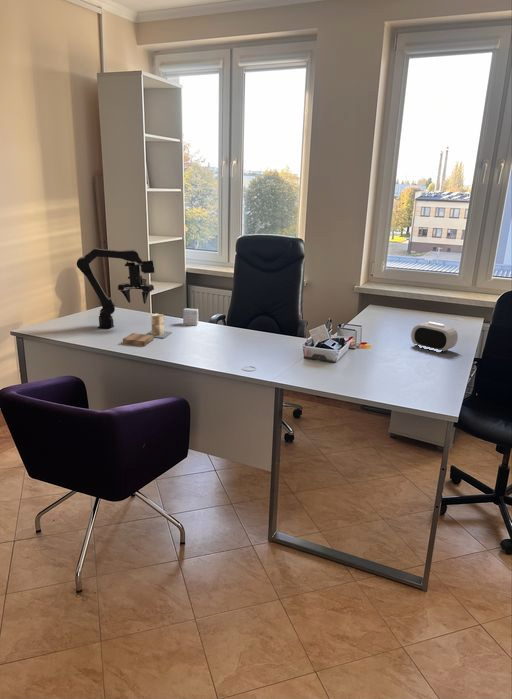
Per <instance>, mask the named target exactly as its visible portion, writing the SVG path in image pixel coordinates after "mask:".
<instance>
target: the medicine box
mask: <svg viewBox="0 0 512 699" xmlns="http://www.w3.org/2000/svg"><path fill="white" fill-rule="evenodd" d="M182 325H183V326H196V327H197V326H198V325H199V309H198V308H188V307H187V308H186V307H185V308H184V309H183V310H182Z"/></svg>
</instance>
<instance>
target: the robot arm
mask: <svg viewBox="0 0 512 699" xmlns="http://www.w3.org/2000/svg"><path fill="white" fill-rule="evenodd" d="M97 257H98V258H99V257H100V258H110V259H111V258H112V259H119V260H120V259H122V260H124V261H126V262H125V263H124V267H128V268H127V269H128V276H127V280H129V282H128V283H127V282H123V283H119V284H118V285H117V290H118V291H120V292H121V293H122V294H123V295H124V297H125V299H126V301H127V302H128V304H130V303H131V295H130V293H131V290H142V292H141V295H142V302H143V304H144V305H146V303H147V301H148V300H147V299H148V296H149V294H150V293H151V292H152V291H154V290H155V288H154V287H155V285H154V284H150V283H149V284H147V279H145V278H143V275H141V273H143V274H144V275H145V274H146V275H147V274H155V266H154V262H153V260H154V259H153V260H152V259H150V260H143V259H142V258H141V257H140V256H139V253H138V251H137V250H136V249H124V250H115V249H105V248H104V249H102V248H97V247H95V248H92V249H91V250H90V251H89V252H88V253H87V254H86V255H84V256H81V257H79V258H77V261H76V266H77V268H78V269H79V270H80V272H81V273H82V274H83V275H84V276H85V277H86V279H87V281H88V282H89V284H90V285H91V287H92V288H93V290H94V292H95V294H96V295H97V297H98V299H99V302H100V305H101V307H102V308H101V309H100V310H99V315H98V327H97V329H103V330H104V329H106V330H110V329H112V328H113V327H115V325H114V318H113V314H114V312H115V310H116V309H115V308H116V303H115V302H114V300H113V299H112V296H110V297H108V296H107V294H106V293H105V291H104V289H103V288H102V286H101V284H100V282H99V281H98V279H97V277H96V276H95V273H94V272H93V268H92V266H91V263H92V262H93V261H94V260H95V259H96V258H97Z"/></svg>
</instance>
